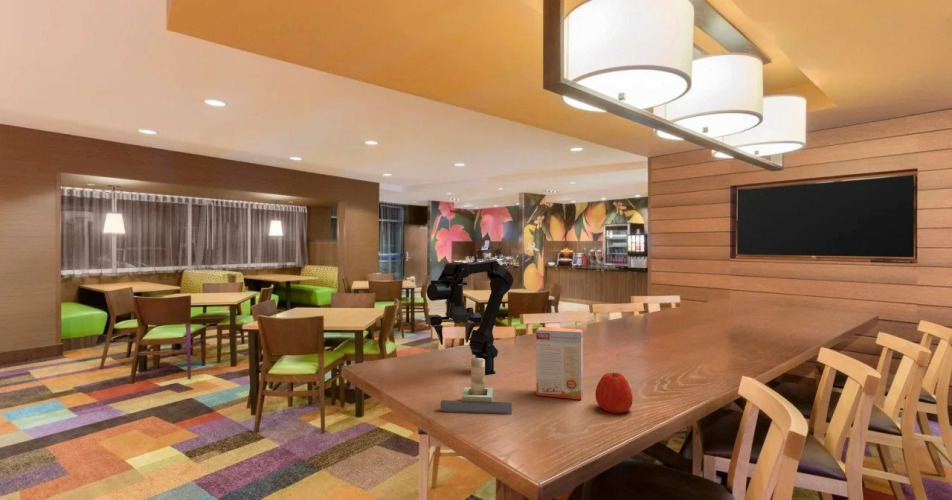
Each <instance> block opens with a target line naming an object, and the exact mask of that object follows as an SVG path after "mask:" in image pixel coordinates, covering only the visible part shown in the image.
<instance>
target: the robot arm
mask: <svg viewBox="0 0 952 500" xmlns="http://www.w3.org/2000/svg"><path fill="white" fill-rule="evenodd" d="M485 272H486V276H487V278H488V279H489V280H490V281H489V287H490V295H489V298H488V301H487V303H486V306H485V311H484V312H483V313H484V314H483V315H482V314H481V313H477V312H474V308H473V307H467V308H465V302H464V300H463V299H464V293H463V292H464V286H467V285H468V282H467V281H466V280H465V278H468V277H469V276H471V275H474V274H479V273H485ZM513 283H514V277H513V275H512V273H511V272H509V270H508V269H506V268H505V267H504V266H502V265H501V264H499V262H498V261H497V260H496V259H486V260H483V261H475V262H469V263H467V262H466V263H464V262H446V263H445V264H444V268H443V270H442V271H441V273H440V275H439V277H438V279H437V280H435V279H431V280H430V284H428V286H427V289H426V296H427V298H428V300H429V301H431V302H436V301H443V300H445V305H446V306H445V308H446V311H445V316H441V315H439V314H428V315H427V316H426V324H428V325H429V326H431V327H432V328H433V329H434V331H435V333H436V335H437V338H438V340H439V343H440V345H441V346H442V345H443V344H444V337H443V328H444V325H442V323H447V322H448V323H453V322H454V324H460V323H464V327H465V330H464V331H465V332H464V333H465V335H464V339H465V343H466V344H468V346H469V348H470V350H471V355H473V356H474V358H482V359H485V375H492V374H493V375H494V374H496V371H495V367H494V366H495V360H494V359H495V358H497V356H498V354H499V350H498V348H496V347H495V345H494V340H495V338H494V334H493V333H494V332H493V331H494V328H495V324H496V321H497V319H498V318H497V317H498V314H499V310H500V308H501V305H502V302H503V299H504V296H505V295H506V294H508V292H509V291H510V289H511V287H512V285H513ZM479 323H480V325H479ZM478 325H479V327H478V328H477V329H476V330H475V329H474V328H475V327H476V326H478Z"/></svg>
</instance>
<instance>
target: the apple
mask: <svg viewBox="0 0 952 500" xmlns="http://www.w3.org/2000/svg"><path fill="white" fill-rule="evenodd" d="M594 395H595V401H596V404H597V405H598V406H599V407H600V408H601V409H602V410H604V411H606V413H607V412H608V413H613V414H622V413H626V412H628V411H629V410H630V409H631V408H632V406H633V400H634V397H633V392H632V388H631V386H630V384H629V382H628V380H627V379H626V378H625V376H624V375H623V374H621V373H619V372H607V373H605V374H603V375H601V378H600V379H599V381H598V383H597V385H596V389H595V394H594Z"/></svg>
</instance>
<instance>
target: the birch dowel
mask: <svg viewBox="0 0 952 500" xmlns="http://www.w3.org/2000/svg"><path fill="white" fill-rule="evenodd" d="M470 363H471V364H470V372H471V373H470V376H471V377H470V387H471V395H485V388H486V386H485V385H486V384H485V383H486V382H485V381H486V379H485V378H486V376H485V375H486V374H485V359H482V358H475V357H474V358H472V359H471V361H470Z"/></svg>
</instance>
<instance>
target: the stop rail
mask: <svg viewBox="0 0 952 500" xmlns="http://www.w3.org/2000/svg"><path fill="white" fill-rule="evenodd" d="M512 404H513V403H512V402H511V401H510V402H508V401H507V402H506V401H493V402H483V401H462V400H450V399H449V400H448V399H447V400H445V399H443V400H440V412H445V413H453V412H454V413H473V414H474V413H475V414H501V415H503V414H505V415H506V414H508V415H512V414H513V407H512V406H513V405H512Z"/></svg>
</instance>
